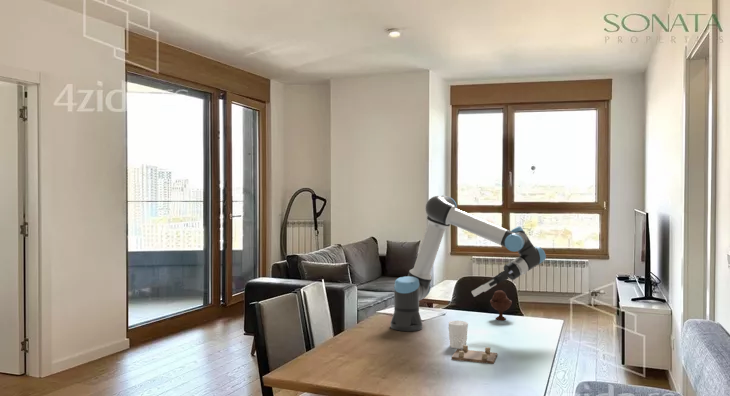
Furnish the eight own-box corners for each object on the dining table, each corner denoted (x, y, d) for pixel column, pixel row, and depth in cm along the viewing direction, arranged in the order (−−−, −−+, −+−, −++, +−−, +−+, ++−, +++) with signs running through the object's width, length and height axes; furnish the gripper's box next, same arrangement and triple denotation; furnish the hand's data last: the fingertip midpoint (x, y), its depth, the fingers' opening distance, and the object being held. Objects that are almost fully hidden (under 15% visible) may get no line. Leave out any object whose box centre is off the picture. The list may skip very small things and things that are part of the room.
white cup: (467, 349, 237) (467, 325, 236) (447, 348, 238) (448, 324, 238) (467, 344, 244) (468, 321, 244) (449, 343, 246) (449, 320, 246)
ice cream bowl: (514, 321, 287) (514, 291, 286) (491, 321, 287) (492, 291, 287) (509, 317, 297) (509, 288, 297) (487, 316, 298) (488, 287, 297)
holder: (451, 359, 223) (451, 351, 223) (457, 351, 234) (457, 343, 234) (493, 363, 218) (493, 356, 218) (497, 355, 229) (497, 347, 229)
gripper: (531, 270, 248) (492, 294, 242) (509, 280, 271) (473, 303, 266) (521, 255, 250) (482, 279, 244) (500, 267, 273) (464, 289, 267)
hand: (477, 291), depth 255 cm, fingers open, 13 cm apart
